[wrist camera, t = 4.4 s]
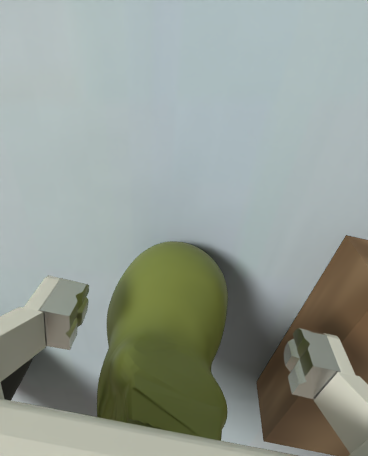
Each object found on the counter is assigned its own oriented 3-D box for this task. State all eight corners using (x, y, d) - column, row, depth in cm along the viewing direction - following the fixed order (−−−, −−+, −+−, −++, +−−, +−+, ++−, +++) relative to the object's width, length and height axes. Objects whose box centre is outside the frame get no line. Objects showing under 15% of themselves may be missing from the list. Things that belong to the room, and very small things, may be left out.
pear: (115, 264, 18) (24, 466, 9) (166, 204, 15) (105, 405, 7) (188, 309, 19) (168, 518, 11) (246, 260, 17) (278, 484, 8)
